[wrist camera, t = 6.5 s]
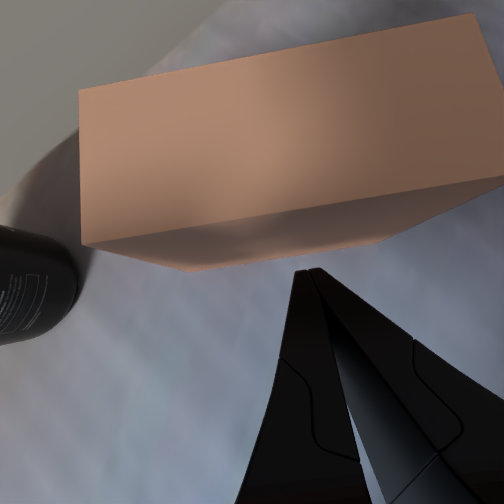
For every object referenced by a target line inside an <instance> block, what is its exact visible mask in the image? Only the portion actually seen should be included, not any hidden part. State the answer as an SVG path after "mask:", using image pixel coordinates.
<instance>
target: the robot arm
mask: <svg viewBox="0 0 504 504" xmlns="http://www.w3.org/2000/svg"><path fill="white" fill-rule="evenodd" d="M346 403H347V404H346ZM347 405H348V408H349V410H350V413H351V415H352V418H353V420H354V423H355V426H356V428H357V431H358V433H359V436H360V438H361V441H362V443H363V446H364V448H365V451H366V453H367V456H368V458H369V461H370V463H371V466H372V468H373V471H374V474H375V476H376V479H377V481H378V484H379V486H380V489H381V491H382V494H383V496H384V499H385V501H386V504H504V400H503V399H501V398H500V397H498V396H497V395H495V394H494V393H492V392H491V391H489V390H488V389H486V388H484V387H483V386H481V385H480V384H478V383H477V382H475V381H474V380H472V379H471V378H469V377H468V376H466V375H465V374H463V373H462V372H460V371H459V370H457V369H456V368H454V367H453V366H452V365H450V364H449V363H447V362H446V361H445V360H443V359H442V358H441V357H439V356H438V355H436V354H435V353H434V352H432V351H431V350H429V349H428V348H427V347H425V346H424V345H423V344H422V343H420V342H419V341H418V340H416V339H414V340H413V337H412V336H411V335H409V334H408V333H407V332H405V331H404V330H403V329H401V328H400V327H399V326H397V325H396V324H395V323H393V322H392V321H391V320H389V319H388V318H387V317H385V316H384V315H383V314H382V313H380V312H379V311H378V310H376V309H375V308H374V307H372V306H371V305H370V304H368V303H367V302H366V301H364V300H363V299H362V298H360V297H359V296H358V295H356V294H355V293H354V292H352V291H351V290H350V289H348V288H347V287H346V286H344V285H343V284H342V283H340V282H339V281H338V280H336V279H335V278H334V277H332V276H331V275H330V274H328V273H327V272H326V271H324V270H323V269H322V268H312V269H309V270H308V271H307V270H299V271H295V274H294V279H293V284H292V290H291V295H290V300H289V306H288V311H287V316H286V322H285V327H284V332H283V338H282V343H281V348H280V354H279V359H278V363H277V369H276V374H275V378H274V383H273V387H272V391H271V395H270V398H269V402H268V405H267V409H266V412H265V415H264V418H263V422H262V425H261V428H260V431H259V434H258V437H257V440H256V443H255V446H254V449H253V452H252V455H251V458H250V461H249V464H248V467H247V470H246V473H245V476H244V479H243V482H242V485H241V488H240V490H239V493H238V496H237V498H236V501H235V503H234V504H372V501H371V498H370V495H369V491H368V488H367V484H366V481H365V477H364V473H363V469H362V466H361V464H360V457H359V453H358V449H357V445H356V441H355V436H354V432H353V428H352V424H351V420H350V416H349V412H348V408H347Z"/></svg>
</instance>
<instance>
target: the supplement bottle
mask: <svg viewBox="0 0 504 504" xmlns="http://www.w3.org/2000/svg"><path fill="white" fill-rule="evenodd" d="M77 285H78V275H77V269H76V265H75V262H74V260H73V258H72V256H71V254H70V253H69V252H68V250H67V249H66V248H65V247H64V246H63V245H62V244H60V243H59V242H57V241H56V240H54V239H52V238H49V237H46V236H43V235H39V234H35V233H32V232H28V231H24V230H20V229H16V228H12V227H8V226H3V225H0V346H1V345H6V344H11V343H15V342H20V341H25V340H29V339H32V338H35V337H38V336H40V335H42V334H44V333H46V332H48V331H49V330H51V329H52V328H53V327H54V326H56V325H57V324H58V323H59V322H60V321H61V320H62V319H63V317H64V316H65V315H66V314H67V312H68V310H69V309H70V307H71V305H72V303H73V301H74V298H75V295H76V291H77Z"/></svg>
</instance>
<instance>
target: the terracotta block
mask: <svg viewBox="0 0 504 504" xmlns="http://www.w3.org/2000/svg"><path fill="white" fill-rule="evenodd" d="M78 94H79V147H80V198H81V245H84V246H88V247H92V248H96V249H99V250H103V251H107V252H111V253H115V254H119V255H123V256H127V257H131V258H135V259H139V260H143V261H147V262H150V263H154V264H158V265H162V266H166V267H170V268H174V269H178V270H182V271H186V272H194V271H201V270H207V269H214V268H220V267H226V266H233V265H239V264H246V263H252V262H258V261H265V260H271V259H278V258H284V257H290V256H297V255H303V254H310V253H316V252H323V251H329V250H335V249H342V248H348V247H355V246H361V245H367V244H374V243H378V242H381V241H383V240H385V239H387V238H389V237H391V236H394V235H396V234H398V233H400V232H402V231H404V230H407V229H409V228H411V227H413V226H415V225H417V224H420V223H422V222H424V221H426V220H428V219H430V218H433V217H435V216H437V215H439V214H441V213H443V212H445V211H448V210H450V209H452V208H454V207H456V206H458V205H461V204H463V203H465V202H467V201H469V200H471V199H474V198H476V197H478V196H480V195H482V194H484V193H487V192H489V191H491V190H493V189H495V188H497V187H500V186H502V185H504V88H503V86H502V83H501V81H500V78H499V76H498V73H497V71H496V68H495V65H494V63H493V60H492V58H491V55H490V53H489V50H488V47H487V45H486V42H485V40H484V37H483V35H482V32H481V30H480V27H479V24H478V22H477V19H476V17H475V14H474V12H473V13H468V14H463V15H458V16H452V17H447V18H442V19H437V20H432V21H427V22H422V23H417V24H412V25H407V26H402V27H396V28H391V29H386V30H381V31H376V32H371V33H366V34H361V35H356V36H351V37H345V38H340V39H335V40H330V41H325V42H320V43H315V44H310V45H305V46H300V47H295V48H289V49H284V50H279V51H274V52H269V53H264V54H259V55H254V56H249V57H244V58H238V59H233V60H228V61H223V62H218V63H213V64H208V65H203V66H198V67H193V68H188V69H182V70H177V71H172V72H167V73H162V74H157V75H152V76H147V77H142V78H137V79H132V80H126V81H121V82H116V83H111V84H106V85H101V86H96V87H91V88H86V89H81V90H78Z"/></svg>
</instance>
